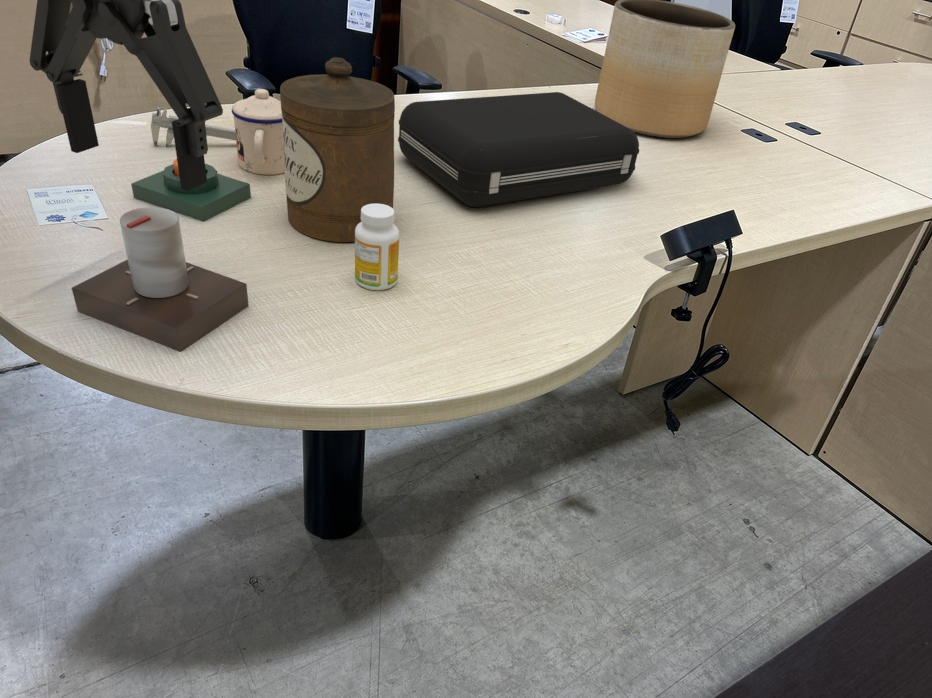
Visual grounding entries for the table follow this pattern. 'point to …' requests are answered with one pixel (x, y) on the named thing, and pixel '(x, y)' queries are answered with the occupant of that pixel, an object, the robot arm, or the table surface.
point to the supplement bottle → (376, 248)
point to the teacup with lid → (259, 134)
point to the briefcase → (516, 146)
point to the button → (176, 167)
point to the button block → (192, 193)
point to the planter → (662, 67)
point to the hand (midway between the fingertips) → (138, 167)
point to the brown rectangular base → (162, 305)
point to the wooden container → (336, 150)
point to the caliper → (167, 122)
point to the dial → (155, 251)
